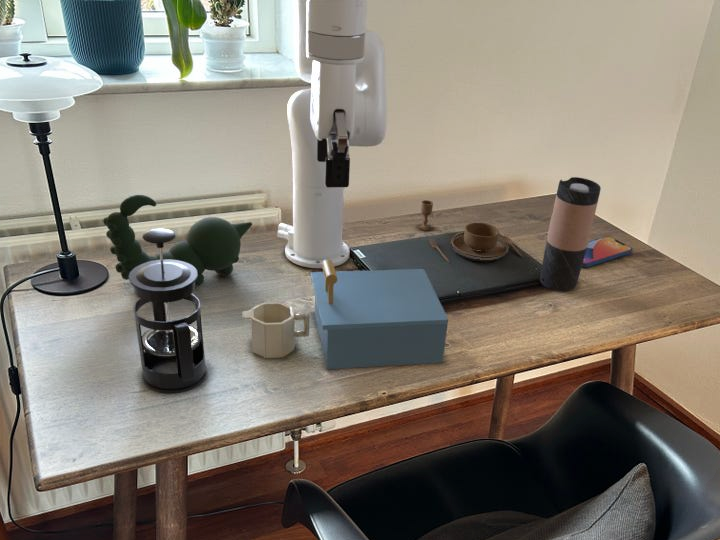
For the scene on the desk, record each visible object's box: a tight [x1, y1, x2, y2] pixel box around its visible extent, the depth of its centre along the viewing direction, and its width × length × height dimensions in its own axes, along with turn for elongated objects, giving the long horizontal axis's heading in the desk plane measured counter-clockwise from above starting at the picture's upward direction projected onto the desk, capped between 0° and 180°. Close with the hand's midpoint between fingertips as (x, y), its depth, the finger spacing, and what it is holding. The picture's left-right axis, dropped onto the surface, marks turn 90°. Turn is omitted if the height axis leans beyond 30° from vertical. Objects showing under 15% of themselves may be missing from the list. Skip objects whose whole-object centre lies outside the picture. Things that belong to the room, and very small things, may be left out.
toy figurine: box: [102, 194, 253, 287], centre depth 128 cm, size 9×19×25 cm
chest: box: [314, 297, 449, 370], centre depth 121 cm, size 19×17×7 cm
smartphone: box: [582, 236, 633, 268], centre depth 155 cm, size 7×15×1 cm, turn 124°
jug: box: [242, 301, 310, 359], centre depth 117 cm, size 10×7×6 cm, turn 102°
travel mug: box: [539, 176, 602, 292], centre depth 138 cm, size 8×8×20 cm
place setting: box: [417, 199, 524, 263], centre depth 154 cm, size 18×20×6 cm
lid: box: [310, 260, 449, 330], centre depth 117 cm, size 19×17×6 cm
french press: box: [128, 228, 208, 394], centre depth 103 cm, size 12×9×23 cm
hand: (332, 173), depth 105 cm, fingers open, 9 cm apart
